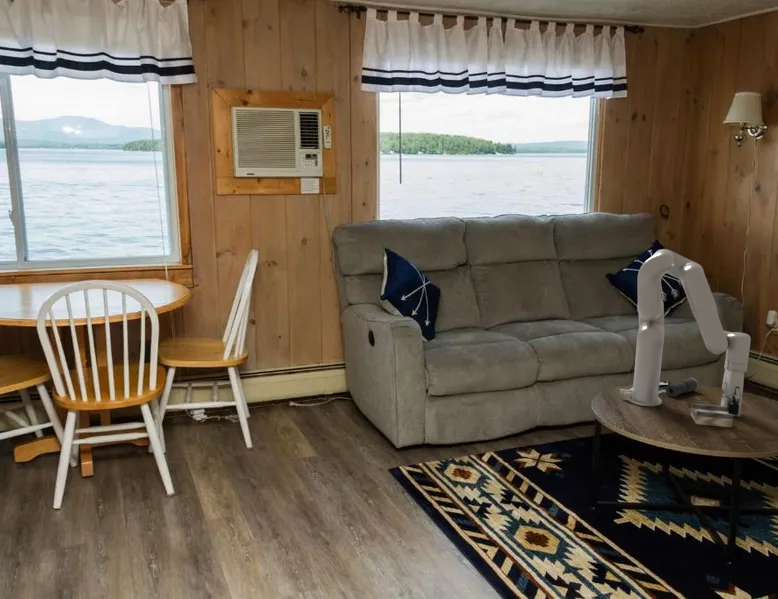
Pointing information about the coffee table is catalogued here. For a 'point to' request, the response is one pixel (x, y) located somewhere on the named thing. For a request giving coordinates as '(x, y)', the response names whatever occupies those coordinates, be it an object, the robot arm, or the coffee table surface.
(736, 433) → the coffee table surface
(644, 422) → the coffee table surface
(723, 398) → the tall white block
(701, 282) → the robot arm
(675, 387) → the flashlight
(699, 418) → the cradle
